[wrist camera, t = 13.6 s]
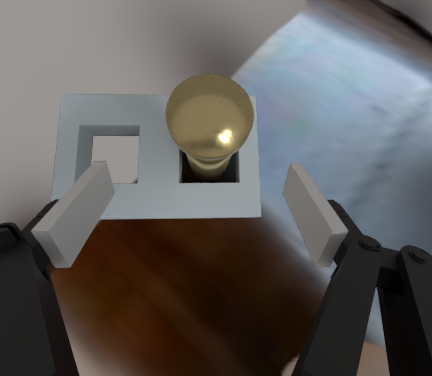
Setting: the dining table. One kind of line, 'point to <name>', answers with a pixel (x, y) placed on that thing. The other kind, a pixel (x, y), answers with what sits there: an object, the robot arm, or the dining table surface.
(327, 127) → the dining table surface
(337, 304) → the robot arm
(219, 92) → the brass sleeve
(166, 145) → the jig plate
